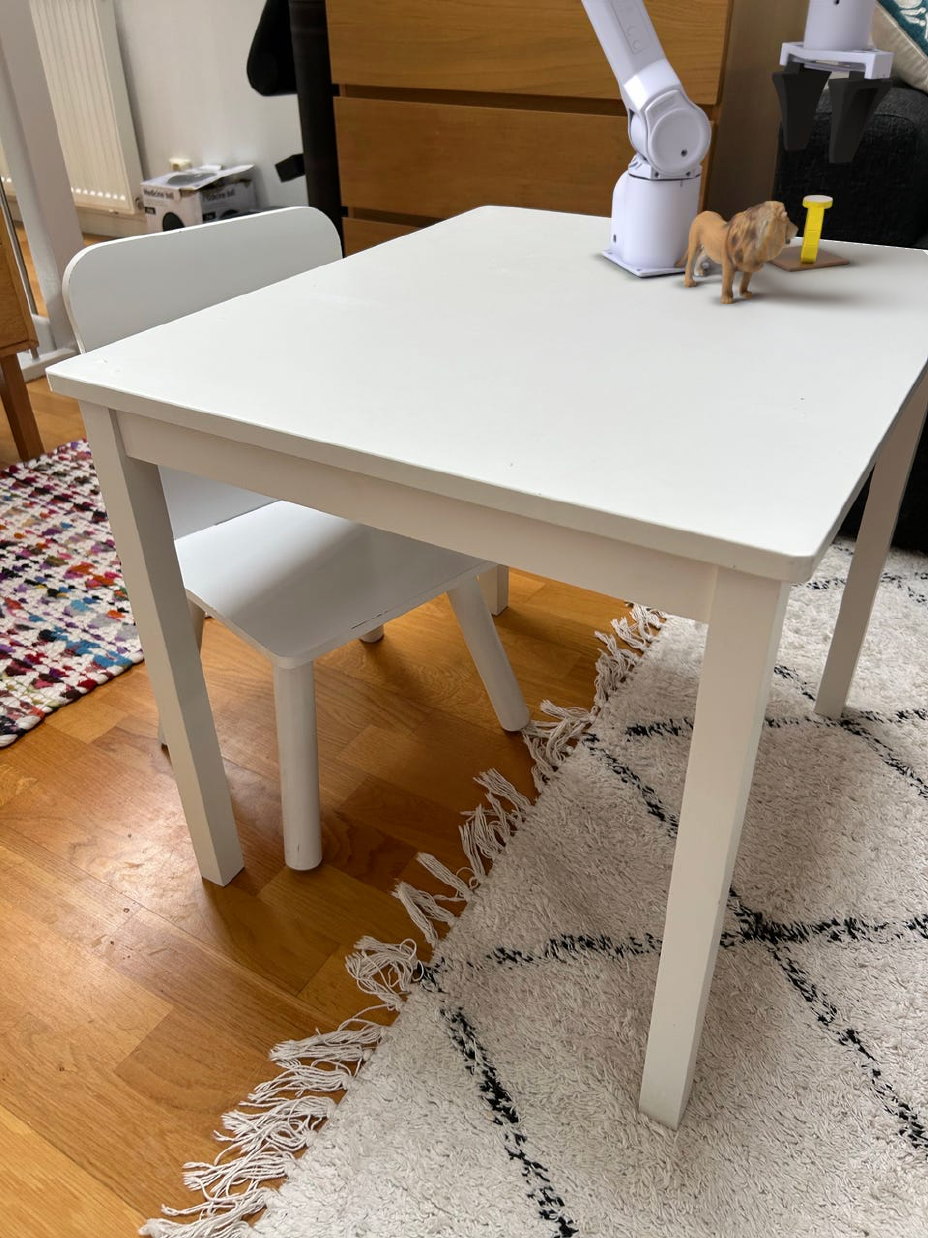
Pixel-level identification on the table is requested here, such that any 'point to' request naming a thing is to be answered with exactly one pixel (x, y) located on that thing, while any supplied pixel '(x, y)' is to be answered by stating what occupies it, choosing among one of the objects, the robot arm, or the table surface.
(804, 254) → the yellow signet ring
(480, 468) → the table surface
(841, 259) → the coaster
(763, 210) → the lion figurine
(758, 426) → the table surface
